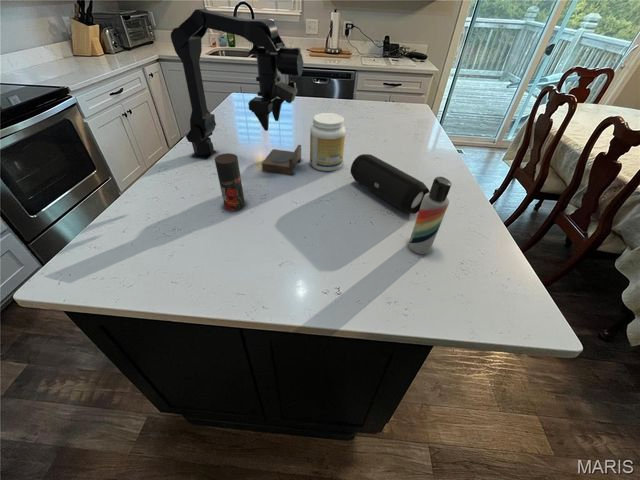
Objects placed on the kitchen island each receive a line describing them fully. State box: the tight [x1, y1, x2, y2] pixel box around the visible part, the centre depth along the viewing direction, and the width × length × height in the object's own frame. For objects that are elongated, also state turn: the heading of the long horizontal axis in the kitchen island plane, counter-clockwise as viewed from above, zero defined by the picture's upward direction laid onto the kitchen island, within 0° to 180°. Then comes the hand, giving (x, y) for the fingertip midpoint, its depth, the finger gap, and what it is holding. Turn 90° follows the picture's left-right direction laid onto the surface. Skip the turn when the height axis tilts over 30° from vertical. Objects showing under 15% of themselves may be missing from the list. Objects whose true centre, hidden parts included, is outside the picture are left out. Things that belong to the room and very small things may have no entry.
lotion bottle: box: [408, 176, 453, 255], centre depth 70 cm, size 6×6×20 cm
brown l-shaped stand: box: [261, 144, 302, 176], centre depth 106 cm, size 11×12×6 cm
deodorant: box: [214, 153, 246, 212], centre depth 83 cm, size 6×6×15 cm
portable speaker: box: [350, 153, 430, 215], centre depth 92 cm, size 26×10×10 cm, turn 37°
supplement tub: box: [309, 112, 346, 172], centre depth 104 cm, size 12×12×17 cm
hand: (271, 125), depth 97 cm, fingers open, 9 cm apart
